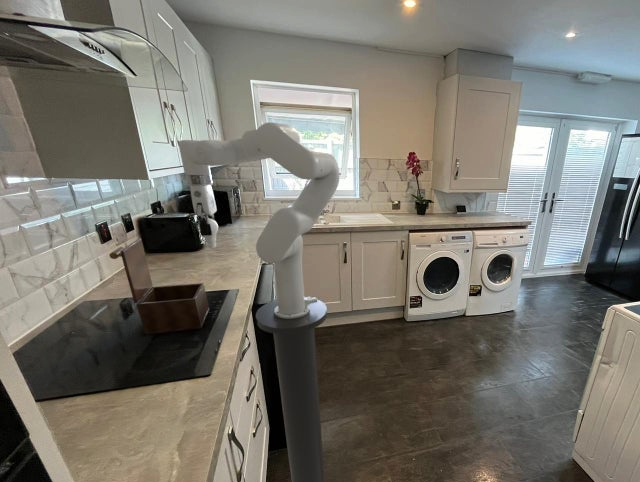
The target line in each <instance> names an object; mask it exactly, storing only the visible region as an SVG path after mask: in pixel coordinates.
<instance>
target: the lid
mask: <svg viewBox="0 0 640 482" xmlns="http://www.w3.org/2000/svg"><path fill="white" fill-rule="evenodd" d="M120 257H121V260H122V263H123V267H124V271H125V273H126V278H127V281H128V285H129V289H130V292H131V296H132V299H133V303H134V304H137V303H138V302H139V301H140V300H141V299H142V297H143V296H144V295H145V294H146V293H147V292H148V291H149V290H150V288H151V287H154V286H153V282H152V281H153V280H152V278H151V274H150V269H149V265H148V261H147V257H146V253H145V249H144V244H143V241H142V238H137V239H136V240H135V241H133V242H131V243H130V244H128V245H127V246H126V247H123V246H120V247H118V248H116V249H114V250H113V251H111V252H110V253H109V258H110V259H112V260H116V259H118V258H120Z"/></svg>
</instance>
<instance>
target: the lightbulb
mask: <svg viewBox="0 0 640 482" xmlns="http://www.w3.org/2000/svg"><path fill="white" fill-rule="evenodd" d="M204 218H205V217H204ZM205 219H206V218H205ZM208 220H209V224H210V226H211V232H212V235H206V236H203V237H204V238H205V242H206V243H207V247H208V248H210V249H215V248H216V247H217V234H218V231H219V225H218V223H217V221H216V220H215V219H210V218H208ZM214 220H215V221H214ZM197 227H198V230H199V232H200V233H201V231H200V226H199V224H198V225H197Z"/></svg>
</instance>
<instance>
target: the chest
mask: <svg viewBox="0 0 640 482" xmlns="http://www.w3.org/2000/svg"><path fill="white" fill-rule="evenodd" d="M135 304H136V308H137V311H138V315H139V317H140V318H139V319H140V321H141V324H142V328H143V331H144V334H145V336H146V335H155V334H164V333H174V332H181V331H191V330H199V329H202V328H203V325H204V324H205V322H206V319H207V316H208V314H209V311H210V307H209V302H208V297H207V293H206V288H205V283H204V282H201V283H200V282H199V283H188V284H174V285H162V286H152V287H151V288H150V289H149V290H148V291H147V293H146V294H145V295H144V296H143V297H142V298H141V299H140V300H139V301H138V303H135Z"/></svg>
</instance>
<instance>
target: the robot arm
mask: <svg viewBox="0 0 640 482" xmlns="http://www.w3.org/2000/svg"><path fill="white" fill-rule="evenodd" d="M301 142H302V141H301V137H300V134H299V132H298V131H297V130H296V129H295V128H294V127H293V126H291V125H288V124H284V123H279V122H264V123H262V124H260V126H258V128H256V129H251V130H246V131H244V133H243V134H242V136H241V138H237V139H231V140H218V139H217V140H215V139H214V140H213V139H212V140H211V139H202V140H196V139H195V140H194V139H182V140H179V142H178V148H179V153H180V154H179V155H180V159H181V163H182V168H183V172H184V177H185V182H186V186H189V188H190V189H189V190H190V195H191V202H192V207H193V211H194V215H195V216H196V217H197V220H198V225H199V226H200V230H199V232H200V231H201V232H200V236H203V237H204V236H206V235H212V232H211V226H210V224H209V220H208V218H210V219H213V220H214V221H216V219H215V215H214V214H216V213H217V211H218V209H217V204H216V200H215V194H214V190H213V188H212V186H213V183H214V182H213V179H212V172H211V167H214V166H232V165H238V164H244V163H249V162H256V161H261V160H267V159H271V160H273V162H275V163H276V164H278V165H279V166H281V167H282V168H283V169H285V170H286V171H288V172H289V173H290V174H291V175H293V176H294V177H296V178H298V179H301V180H309V182H307V184H306V185H305V186H304V187H303V189H302V190H301V192H300V194H299V195H298V197H297V199H295V201H294V202H293V203H292V204H290V205H287V206H283V207H280V208H279V209H278V210H276V211H275V212H274V213H273V214H272V215H271V217H270V218H269V220H268V222H267V223H266V224H265V227H264V228H263V230H262V231H261V233H260V234H259V237H258V238H257V241H256V244H255V245H256V246H255V251H256V253H257V256H258V257H259V259H260V260H262V261H263V262H265V263H267V264H273V272H274V283H275V291H276V300H278V306H277V307H276V308H275V309H274V313H275V315H276V316H277V317H279V318H283V319H294V318H299V317H302V316H304V315H306V314H307V313H308V312H309V310H310V307H309V305H310V304H311V303H315V302H317V300H318V298H317V297H311V296H305V286H304V284H305V283H304V274H303V272H304V271H303V250H304V241H303V236H302V235H304V234H306V233H307V232H310V230H311V229H312V228H313V227H314V225H315V224H316V222H317V220H318V219H319V218H320V216H321V215H322V213H323V212H324V210H325V209H326V207H327V206H328V203H329V202H330V201H331V199H332V198H333V196H334V195H335V193H336V191H337V189H338V187H339V182H340V169H339V164H338V162H337V160H336V158H335V157H334V155H333V154H332V153H331V152H330V151H328V150H326V149H324V148H320V147H306V146H304V145H303V144H302V143H301ZM205 218H206V219H205ZM305 297H307V298H305Z"/></svg>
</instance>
